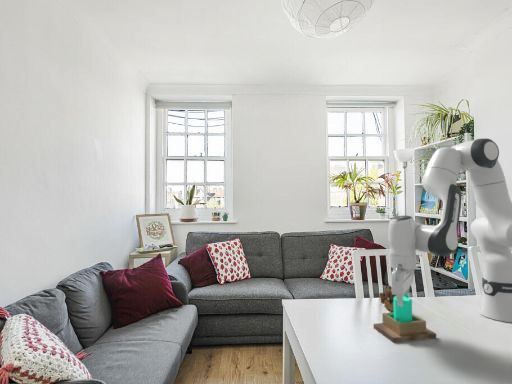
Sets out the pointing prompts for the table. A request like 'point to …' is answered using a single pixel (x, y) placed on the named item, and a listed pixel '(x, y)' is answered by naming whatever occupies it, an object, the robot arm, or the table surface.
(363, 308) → the table surface
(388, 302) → the wooden carving
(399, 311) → the candle
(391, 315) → the candle stand
